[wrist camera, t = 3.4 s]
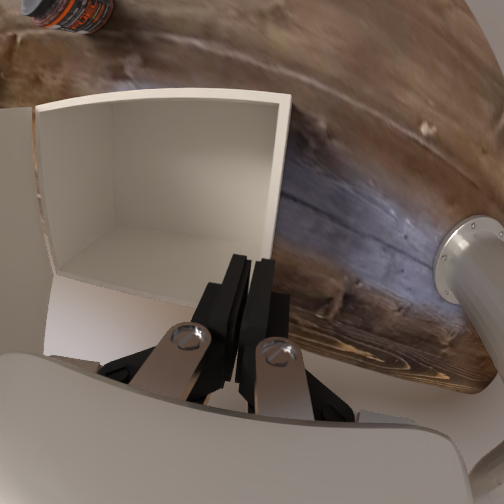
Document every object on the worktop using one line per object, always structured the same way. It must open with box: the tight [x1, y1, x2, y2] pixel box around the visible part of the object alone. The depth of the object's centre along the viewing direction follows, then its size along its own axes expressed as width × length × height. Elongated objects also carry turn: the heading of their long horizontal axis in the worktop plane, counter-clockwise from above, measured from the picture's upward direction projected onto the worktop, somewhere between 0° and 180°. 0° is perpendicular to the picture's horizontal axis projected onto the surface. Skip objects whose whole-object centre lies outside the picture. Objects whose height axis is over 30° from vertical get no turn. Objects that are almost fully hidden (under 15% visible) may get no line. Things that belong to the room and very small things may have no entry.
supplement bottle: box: [21, 0, 114, 34], centre depth 16 cm, size 6×6×11 cm
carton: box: [35, 88, 292, 308], centre depth 24 cm, size 20×16×12 cm
